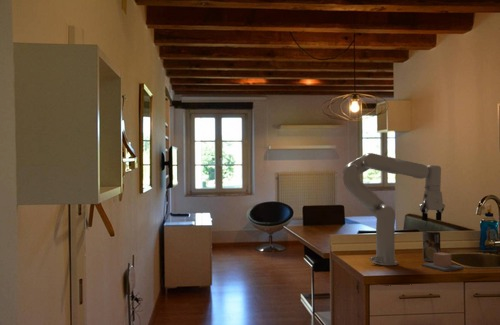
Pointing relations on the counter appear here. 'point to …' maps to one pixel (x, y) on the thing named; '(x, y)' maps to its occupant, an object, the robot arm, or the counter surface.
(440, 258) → the terracotta cube
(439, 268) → the mat
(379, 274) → the counter surface
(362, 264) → the counter surface
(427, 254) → the coffee box
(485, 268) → the counter surface
